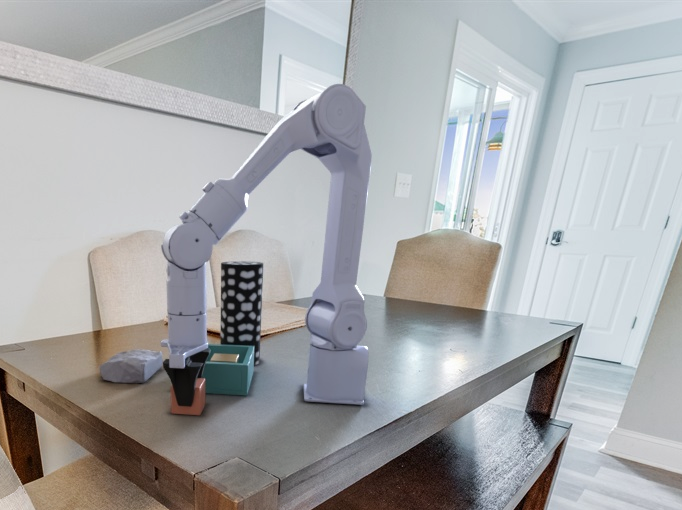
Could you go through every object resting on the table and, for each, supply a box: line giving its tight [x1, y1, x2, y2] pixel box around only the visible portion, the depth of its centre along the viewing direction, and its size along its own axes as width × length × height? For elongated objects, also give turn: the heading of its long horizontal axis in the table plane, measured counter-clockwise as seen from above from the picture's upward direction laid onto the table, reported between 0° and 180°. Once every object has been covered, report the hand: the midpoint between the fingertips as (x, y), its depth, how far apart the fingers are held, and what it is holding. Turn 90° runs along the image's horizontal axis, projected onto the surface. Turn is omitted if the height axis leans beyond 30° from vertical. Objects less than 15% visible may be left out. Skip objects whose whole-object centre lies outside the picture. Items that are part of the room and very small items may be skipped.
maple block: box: [210, 353, 239, 363], centre depth 82 cm, size 4×4×4 cm
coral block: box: [170, 378, 206, 416], centre depth 72 cm, size 4×4×4 cm
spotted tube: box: [219, 260, 264, 366], centre depth 94 cm, size 8×8×20 cm
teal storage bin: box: [202, 343, 255, 397], centre depth 84 cm, size 13×13×5 cm
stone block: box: [98, 348, 164, 384], centre depth 89 cm, size 12×5×10 cm
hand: (188, 399), depth 72 cm, fingers closed on coral block, 4 cm apart
